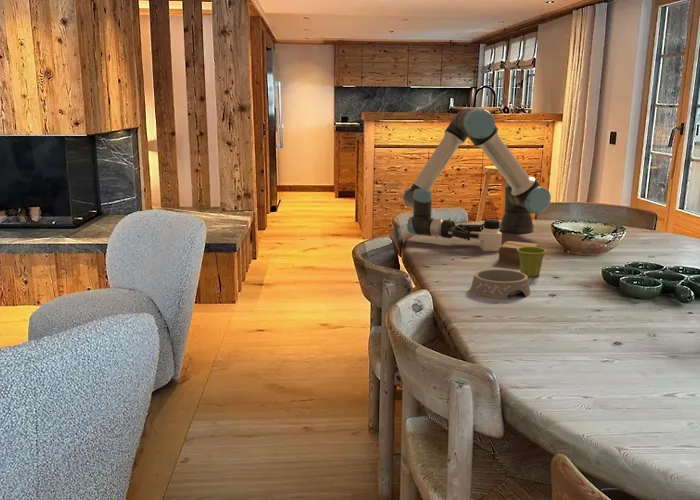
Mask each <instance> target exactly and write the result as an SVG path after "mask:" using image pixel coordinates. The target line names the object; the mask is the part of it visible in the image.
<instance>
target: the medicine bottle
mask: <svg viewBox="0 0 700 500" xmlns="http://www.w3.org/2000/svg"><path fill="white" fill-rule="evenodd" d="M500 223H501V221H500V220H498V219H496V218H489V219H485V220H484V221H483V224H484V230H481V233H488V236H487V240H480V245H479V246H480V248H481V250H482V251H483V252H499V248H500V247H501V246H502V245H503V233H502V232H501V230H500Z"/></svg>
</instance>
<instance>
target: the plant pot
mask: <svg viewBox="0 0 700 500" xmlns="http://www.w3.org/2000/svg"><path fill="white" fill-rule="evenodd" d="M517 251H518V255H519V261H520V265H519V270H520V271H519V272H521V273H524V274H525V275H527V277H528V278H529V277H531V278H534V277H537V276H538V277H539V276H540V273H541V268H542V264H543V259H544V256H545V253H547V249H544V248H541V247H539V248H538V247H520V248H518V249H517Z"/></svg>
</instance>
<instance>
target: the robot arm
mask: <svg viewBox="0 0 700 500" xmlns="http://www.w3.org/2000/svg"><path fill="white" fill-rule="evenodd" d="M498 134H499V127H498V126H497V125H496V121H495V118H494V115H493V114H492V113H491V112H490V111H489V110H486V108H485V109H484V108H479V107H476V108H471V107H470V108H464V109H462V110H459V111H458V112H457V113H456V115H454V117H453V118H452V120H450V123H449V124H448V126H447V127H446V129H445V130H444V136H443V137H442V139H441V141H440V142H439V144H438V145H437V147H436V148H435V150H434V152H433V153H432V154H431V156H430V157H429V160H428V161H427V162H426V164H425V165H424V167H423V168H422V169H421V172H420V173H419V174H418V176H417V178H416V179H415V181H414V182H413V184H412V185H411V187H410V188H408V189H406V190H405V191H404V192H403V195H402V199H403V202H404V203H405V204H406V205H407V206H408V207H410V208H411V209H412V210H413V211H412V212H413V214H412V216H410V217H409V218H408V220H407V224H406V228H407V232H408V233H409V234H411V235H415V236H416V235H417V236H424V237H425V236H426V237H435V239H438V238H443V239H452V238H453V237H454V238H458V239H462V240H466V241H471V240H480V241H481V240H487V236H488V233H481V230H484V223H482V224H463V223H460V224H457V225H456V224H455V221H454V220H452V219H443V218H432V203H433V202H432V200H433V196H432V187H433V186H434V184H435V183H436V181H437V179H438V178H439V176H440V175H441V174H442V172H443V171H444V169H445V167H446V166H447V165H448V163H449V162H450V160H451V158H452V157H453V156H454V154H455V152H456V151H457V149H458V148H459V146H461V145H463V144H464V143H465V141H466V140H467V139H469V140H470V141H471V143H472V144H473V146H474V147H478V148H481V150H482V151H483V152H484V154H485V155H486V156H487V158H488V159H489V161H491V163H492V164H493V166H494V167H495V168H496V170H498V172H499V174H501V176H502V178H503V179H504V180H505V181H506V182H505V188H504V211H503V212H504V213H503V216H502V219H501V221H500V229H499V231H500V232H501V231H502V232H504V233H513V234H527V233H528V234H529V233H532V232H534V230H535V225H534V223H533V217H532V214H536V215H537V214H541V213H544V212H545V211H546V210H547V209H548V207H550V204H551V201H552V200H551V199H552V196H551V192H550V191H549V190H548V189H547V188H546V187H545V186H541V184H540V183H539V181H538V180H537V179H536V178H535V177H534V176H530V175H529V174H528V173H527V172H526V170H525V169H524V168H523V166H522V165H521V163H520V162H519V160H517V158H516V157H515V155H514V154H513V153H512V152H511V150H510V149H509V148H508V146H507V144H505V142H504V141H503V140H502V139H501V137H500V136H499V135H498Z"/></svg>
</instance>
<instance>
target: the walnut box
mask: <svg viewBox="0 0 700 500" xmlns="http://www.w3.org/2000/svg"><path fill="white" fill-rule="evenodd" d="M520 247H538V248H540V244H539V243H535V242H526V241H525V242H522V241H512V240H507V241H505V242H504V243H502V246H501V247H500V248H499V251H498V252H499V253H498V264H501V265H502V264H503V265H510V266H511V265H515V266H520V261H519V255H518V251H517V249H518V248H520Z"/></svg>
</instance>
